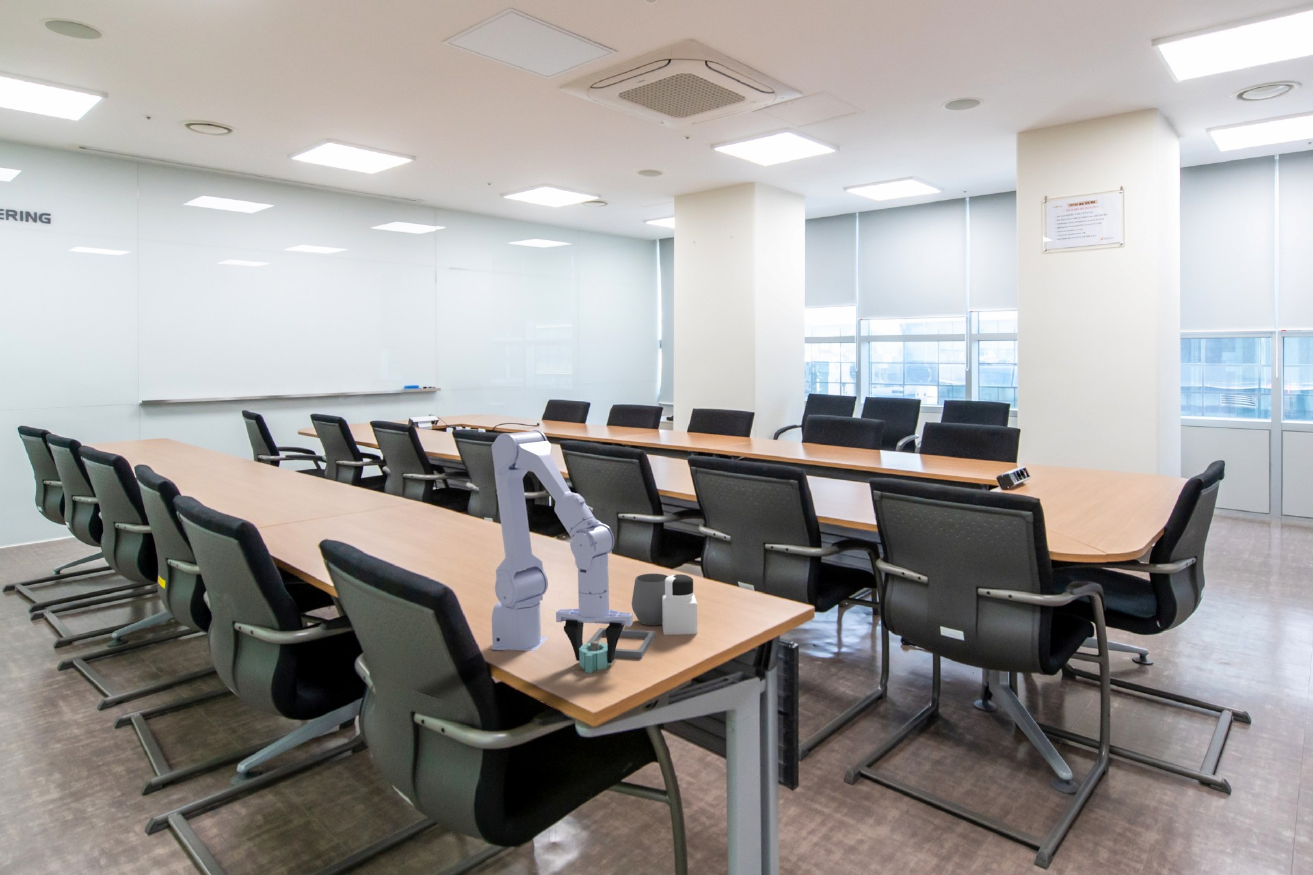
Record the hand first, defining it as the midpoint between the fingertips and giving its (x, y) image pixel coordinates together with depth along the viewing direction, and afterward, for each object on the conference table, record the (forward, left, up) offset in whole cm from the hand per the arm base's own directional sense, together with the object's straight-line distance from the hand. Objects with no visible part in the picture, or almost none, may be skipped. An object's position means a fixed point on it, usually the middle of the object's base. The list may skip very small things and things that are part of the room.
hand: (595, 660), depth 145 cm
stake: (0, 0, -1) cm, 1 cm away
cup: (+5, +27, -2) cm, 28 cm away
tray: (+2, +10, -1) cm, 11 cm away
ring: (0, 0, -1) cm, 1 cm away
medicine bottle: (+12, +22, -2) cm, 26 cm away
